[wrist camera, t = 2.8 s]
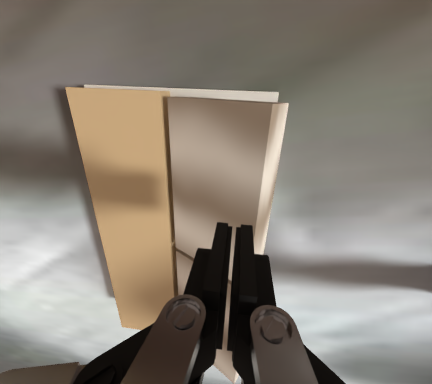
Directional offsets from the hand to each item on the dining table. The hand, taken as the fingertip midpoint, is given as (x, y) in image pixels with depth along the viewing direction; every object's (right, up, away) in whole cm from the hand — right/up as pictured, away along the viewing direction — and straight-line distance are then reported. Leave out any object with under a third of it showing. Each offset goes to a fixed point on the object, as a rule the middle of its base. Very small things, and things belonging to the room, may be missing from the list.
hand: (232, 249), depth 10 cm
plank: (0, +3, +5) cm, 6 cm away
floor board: (-4, -1, +11) cm, 12 cm away
